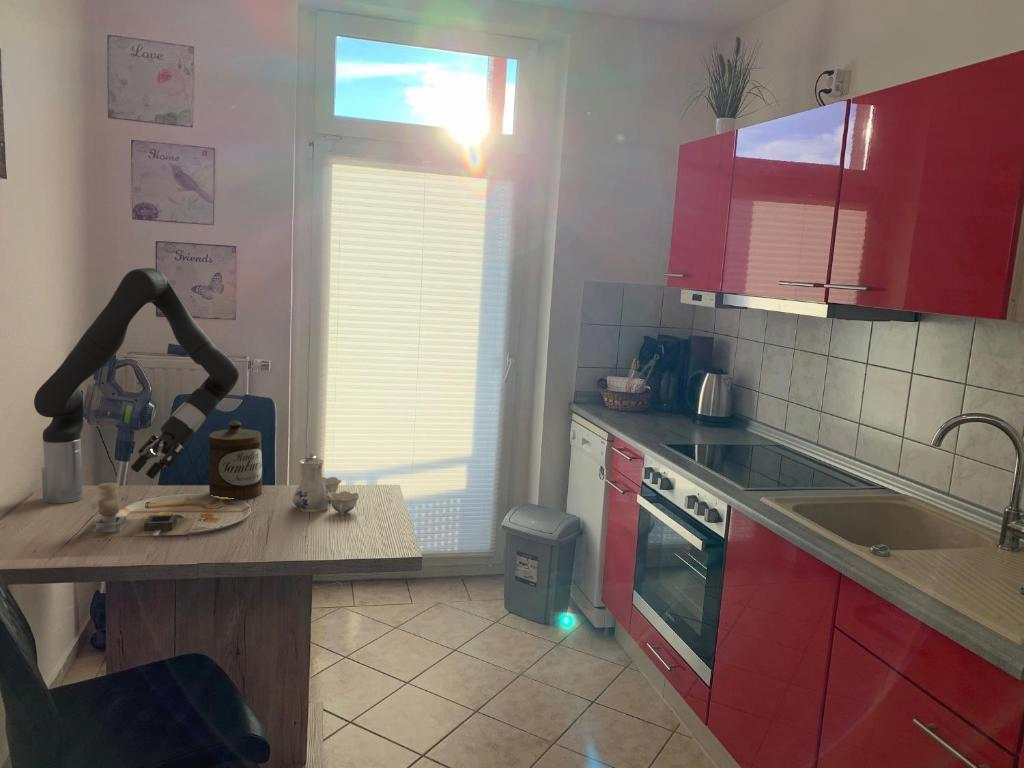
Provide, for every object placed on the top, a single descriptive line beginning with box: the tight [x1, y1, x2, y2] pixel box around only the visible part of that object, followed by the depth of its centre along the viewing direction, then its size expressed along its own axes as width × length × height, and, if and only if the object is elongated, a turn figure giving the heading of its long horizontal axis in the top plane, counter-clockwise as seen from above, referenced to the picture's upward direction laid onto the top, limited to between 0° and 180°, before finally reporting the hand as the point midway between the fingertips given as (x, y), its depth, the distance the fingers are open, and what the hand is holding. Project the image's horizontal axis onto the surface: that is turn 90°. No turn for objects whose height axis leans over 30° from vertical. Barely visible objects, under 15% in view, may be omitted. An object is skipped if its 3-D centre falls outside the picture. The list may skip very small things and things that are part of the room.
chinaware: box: [292, 451, 360, 516], centre depth 231 cm, size 28×17×17 cm, turn 34°
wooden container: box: [208, 420, 263, 501], centre depth 240 cm, size 15×15×22 cm
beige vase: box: [97, 482, 120, 523], centre depth 201 cm, size 4×4×11 cm
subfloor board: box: [76, 511, 198, 541], centre depth 203 cm, size 25×14×4 cm, turn 102°
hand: (141, 473), depth 206 cm, fingers open, 8 cm apart
